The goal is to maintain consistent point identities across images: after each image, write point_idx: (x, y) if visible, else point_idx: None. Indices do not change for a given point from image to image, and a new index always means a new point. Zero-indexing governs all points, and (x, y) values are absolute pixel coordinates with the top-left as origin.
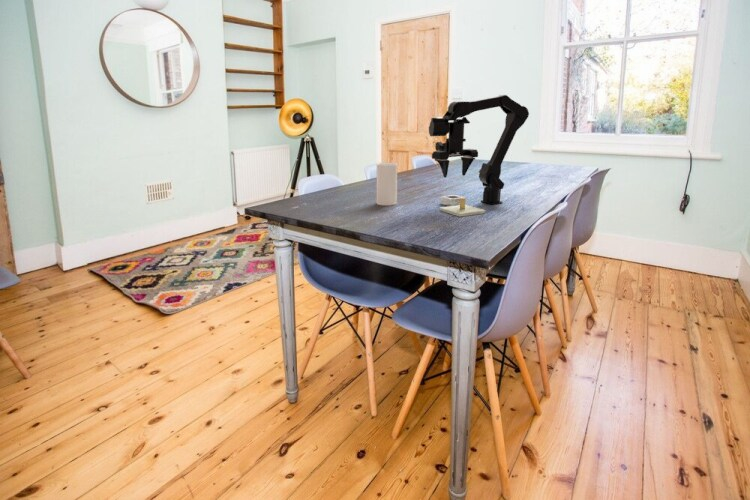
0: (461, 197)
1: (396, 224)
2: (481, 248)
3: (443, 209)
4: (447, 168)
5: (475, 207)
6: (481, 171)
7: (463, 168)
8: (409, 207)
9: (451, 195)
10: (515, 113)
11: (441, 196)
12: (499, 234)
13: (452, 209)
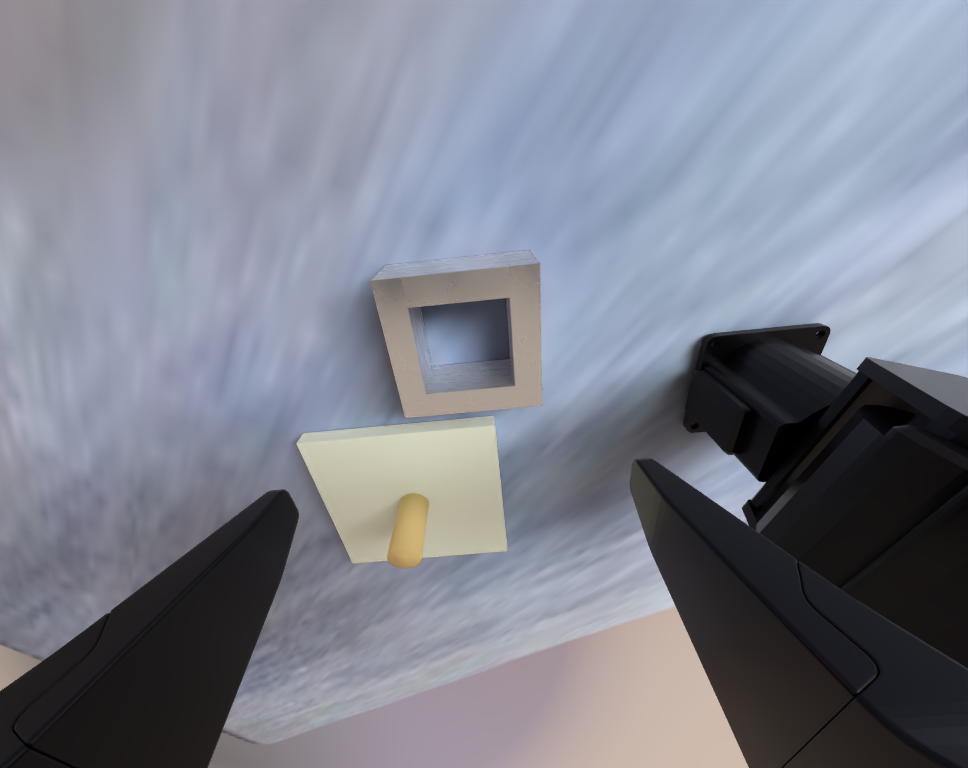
0: (517, 388)
1: (33, 562)
2: (282, 721)
3: (311, 468)
4: (214, 713)
5: (502, 500)
6: (938, 556)
7: (697, 571)
8: (88, 285)
9: (492, 280)
10: None
11: (375, 285)
12: (378, 685)
13: (355, 496)
